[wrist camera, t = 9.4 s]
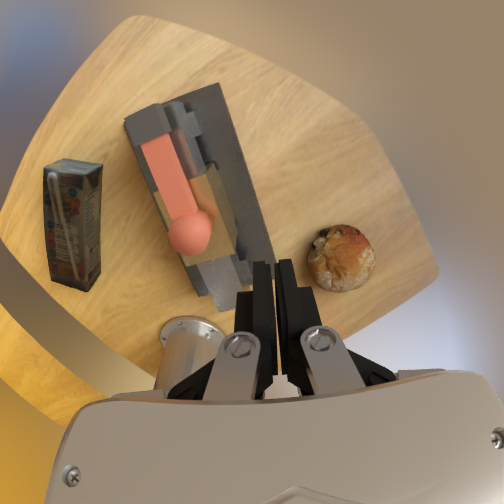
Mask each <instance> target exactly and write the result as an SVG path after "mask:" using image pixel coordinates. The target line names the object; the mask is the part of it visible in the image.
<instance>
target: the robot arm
mask: <svg viewBox="0 0 504 504" xmlns="http://www.w3.org/2000/svg"><path fill="white" fill-rule="evenodd" d="M274 272H275V293H276V314H277V325H278V336H279V346H280V357H281V368H282V375H285V374H287V378H288V382H291V383H292V384H294V385H295V386H297V387H298V394H299V397H291V398H279V399H264V398H265V390H266V389H267V388H268V387H269V386H270V385H271V384H272V383H273V375H278V361H277V334H276V317H275V307H274V296H273V286H272V276H271V266H270V264H265V261H254V262H253V291H242V292H237V297H236V311H235V324H234V333H231V334H230V335H228V336H226V335H225V333H224V332H223V331H222V330H221V329H220V328H219V327H218V326H217V325H215V324H213V323H212V322H210V321H207V320H205V319H202V318H198V317H191V316H183V317H177V318H174V319H172V320H170V321H168V322H167V323H166V324H165V325H164V326H163V328H162V331H161V334H160V341H161V344H162V346H163V348H164V349H165V350H164V353H163V357H162V360H161V363H160V367H159V370H158V374H157V378H156V381H155V385H154V389H153V390H149V391H140V392H130V393H120V394H116V395H114V396H112V397H111V398H108V399H103V400H98V401H94V402H91V403H89V404H86V405H85V406H83V407H81V408H80V409H79V410H78V411H77V412H76V413H75V415H74V416H73V418H72V419H71V421H70V423H69V425H68V427H67V429H66V431H65V433H64V436H63V438H62V441H61V443H60V446H59V449H58V452H57V455H56V457H55V461H54V465H53V468H52V472H51V476H50V480H49V484H48V488H47V492H46V497H45V503H44V504H504V406H503V405H502V403H501V401H500V399H499V397H498V395H497V394H496V392H495V391H494V389H493V388H492V386H491V385H490V383H489V382H488V381H487V380H486V379H485V378H484V377H483V376H481V375H479V374H478V373H475V372H470V371H462V370H448V371H446V370H444V369H422V370H398V372H397V373H393V372H392V371H390V370H388V369H387V368H385V367H383V366H381V365H379V364H377V363H375V362H373V361H371V360H369V359H366V358H364V357H362V356H360V355H358V354H356V353H354V352H352V351H350V350H348V349H346V347H345V345H344V343H343V341H342V339H341V337H340V335H339V334H338V333H337V332H336V331H335V330H334V329H332V328H330V327H327V326H322V323H321V319H320V316H319V312H318V308H317V305H316V301H315V298H314V294H313V291H312V288H311V286H309V287H297V282H296V278H295V274H294V269H293V265H292V260H291V259H282V260H279V263H274Z"/></svg>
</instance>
